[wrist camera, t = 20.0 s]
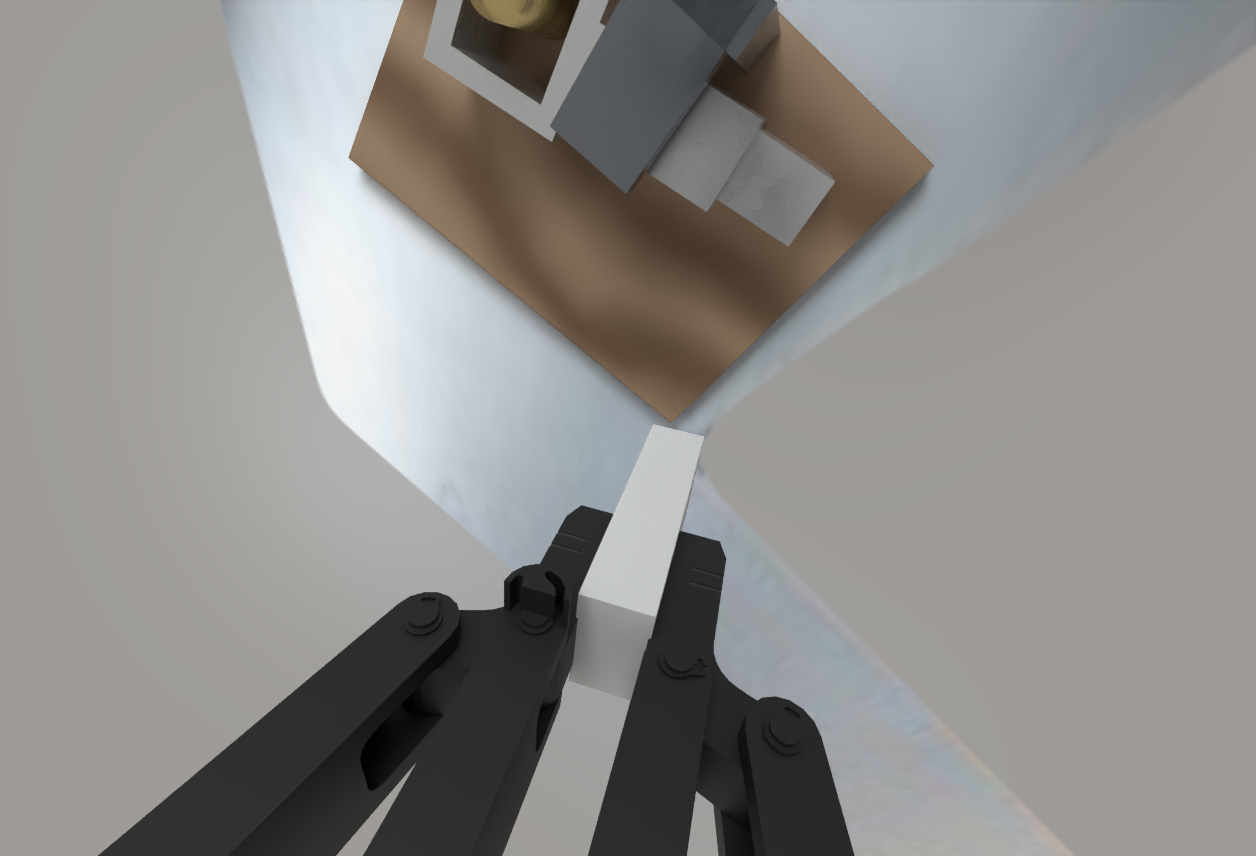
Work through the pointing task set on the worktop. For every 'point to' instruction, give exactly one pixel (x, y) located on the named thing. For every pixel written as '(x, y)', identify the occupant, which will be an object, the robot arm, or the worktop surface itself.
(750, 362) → the worktop surface
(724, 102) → the link
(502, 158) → the board
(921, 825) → the worktop surface
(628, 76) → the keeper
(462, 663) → the robot arm
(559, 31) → the brass rounded cylinder
